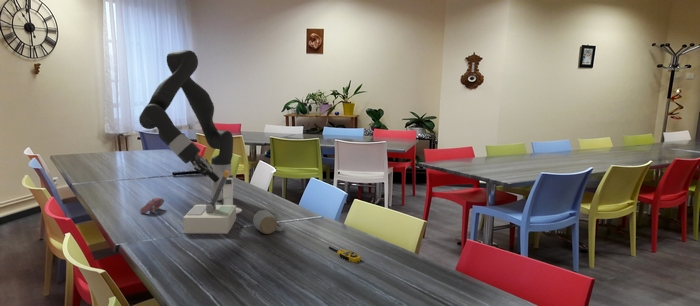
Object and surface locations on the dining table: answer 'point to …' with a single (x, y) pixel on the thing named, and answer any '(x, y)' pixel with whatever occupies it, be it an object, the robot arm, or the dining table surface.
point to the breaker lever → (220, 187)
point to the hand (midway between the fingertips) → (217, 180)
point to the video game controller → (152, 205)
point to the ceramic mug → (266, 222)
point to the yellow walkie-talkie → (347, 255)
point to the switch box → (209, 219)
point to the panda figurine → (229, 193)
